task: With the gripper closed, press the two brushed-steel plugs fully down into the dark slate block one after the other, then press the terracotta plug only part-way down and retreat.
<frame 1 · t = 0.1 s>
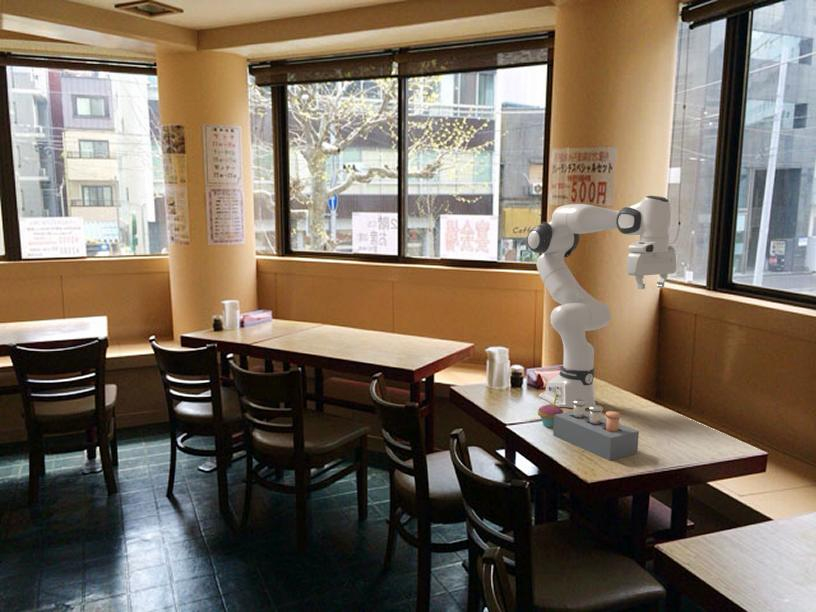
hand: (650, 288, 211), 48 cm above the table, fingers open, 8 cm apart
cupcake: (550, 425, 220), on the table
steel plug a: (579, 412, 208), point 8 cm above the table, slide at 0.0 cm
steel plug b: (595, 419, 202), point 8 cm above the table, slide at 0.0 cm
slate block: (593, 443, 203), on the table
terracotta plug: (612, 425, 196), point 8 cm above the table, slide at 0.0 cm
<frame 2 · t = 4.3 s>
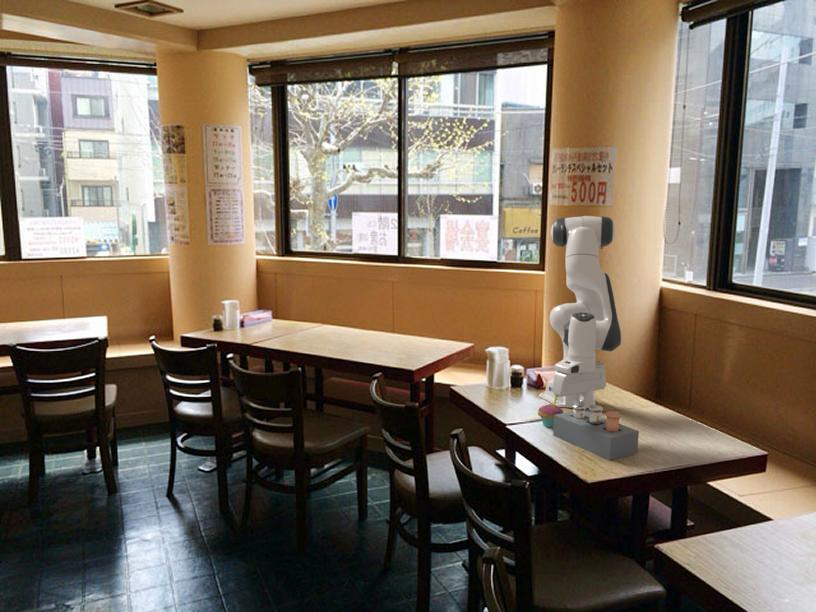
hand: (579, 405, 207), 11 cm above the table, fingers closed, pressing on steel plug a
steel plug a: (578, 417, 208), point 7 cm above the table, slide at 1.5 cm, touching gripper
everything else where it was.
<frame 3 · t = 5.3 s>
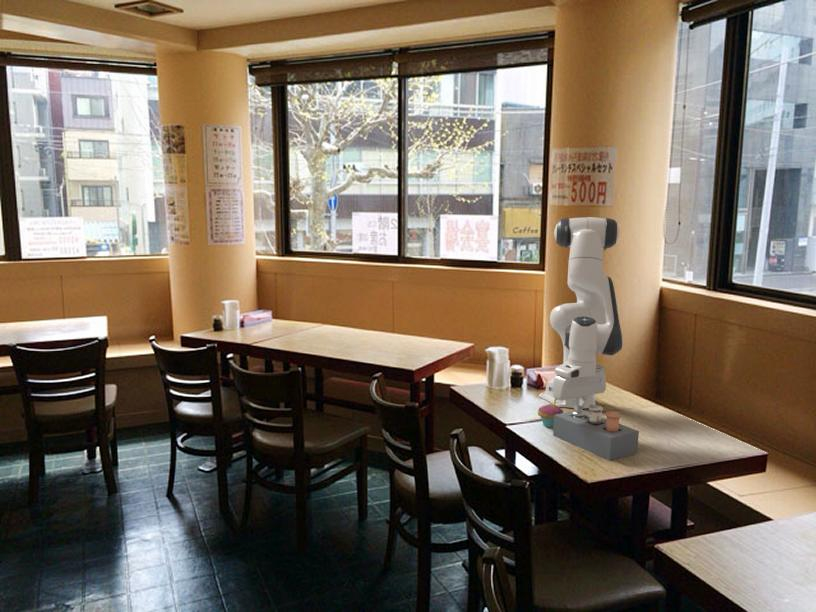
hand: (578, 409, 208), 9 cm above the table, fingers closed
steel plug a: (578, 423, 208), point 4 cm above the table, slide at 3.8 cm
everything else where it was.
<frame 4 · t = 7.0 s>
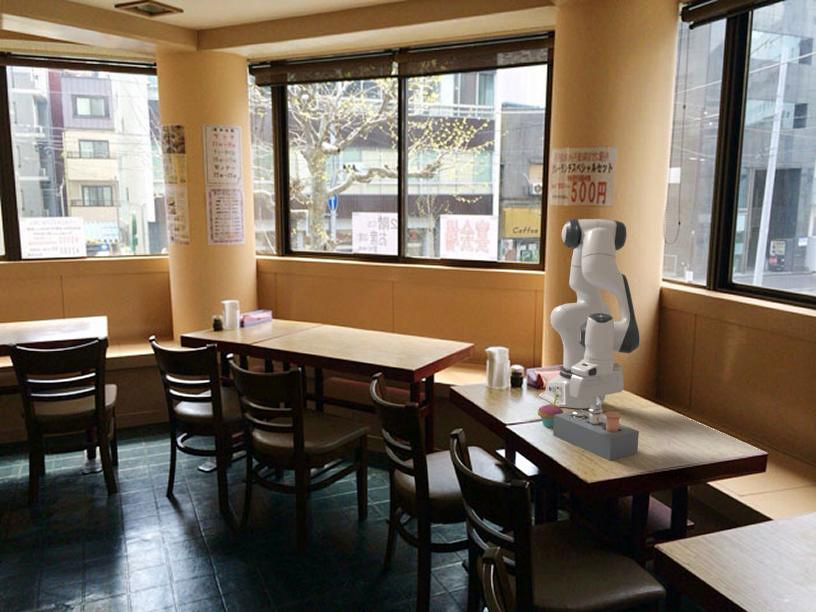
hand: (596, 409, 201), 11 cm above the table, fingers closed, pressing on steel plug b
steel plug b: (595, 421, 202), point 8 cm above the table, slide at 0.7 cm, touching gripper
everything else where it was.
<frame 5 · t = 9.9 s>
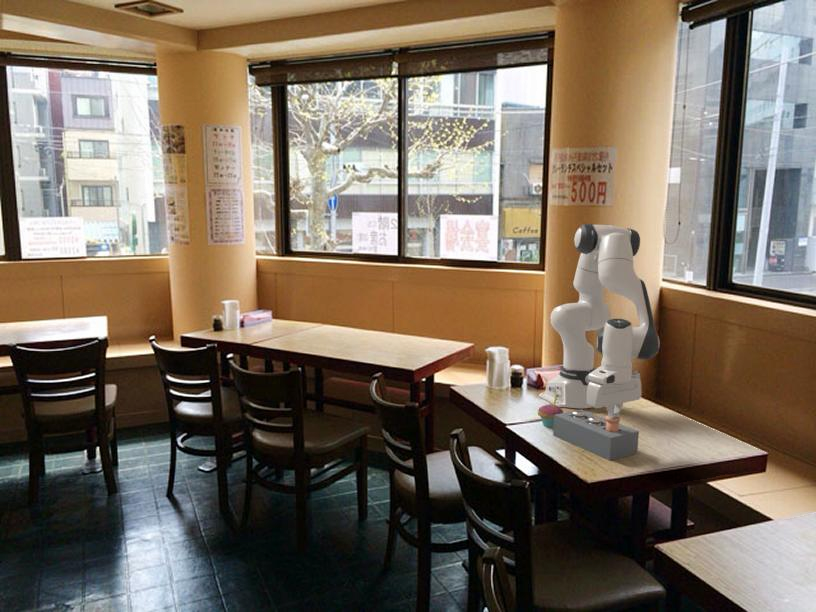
hand: (613, 417, 195), 11 cm above the table, fingers closed, pressing on terracotta plug
steel plug b: (594, 430, 202), point 4 cm above the table, slide at 3.8 cm
terracotta plug: (612, 429, 196), point 7 cm above the table, slide at 1.3 cm, touching gripper
everything else where it was.
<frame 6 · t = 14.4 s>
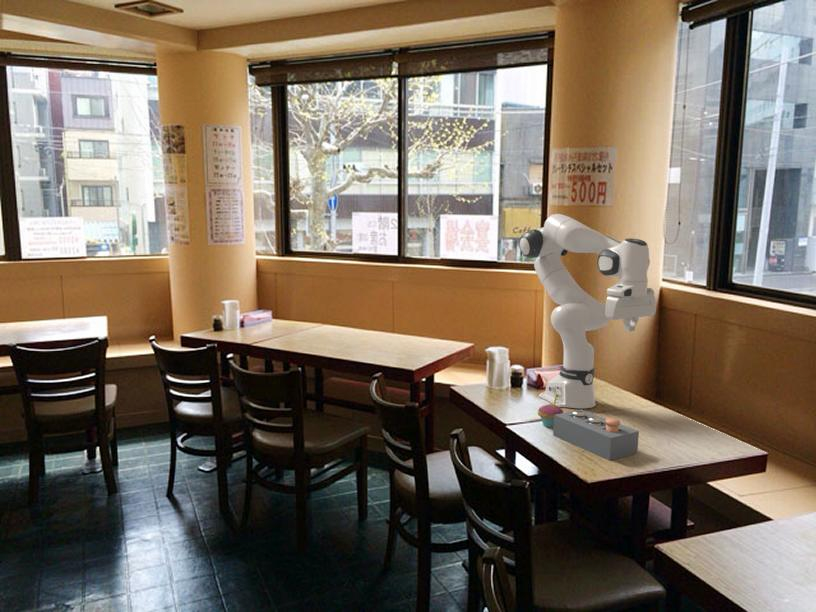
hand: (629, 331, 210), 34 cm above the table, fingers closed
terracotta plug: (611, 433, 196), point 6 cm above the table, slide at 2.4 cm
everything else where it was.
at the end: steel plug a slide at 3.8 cm; steel plug b slide at 3.8 cm; terracotta plug slide at 2.4 cm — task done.
